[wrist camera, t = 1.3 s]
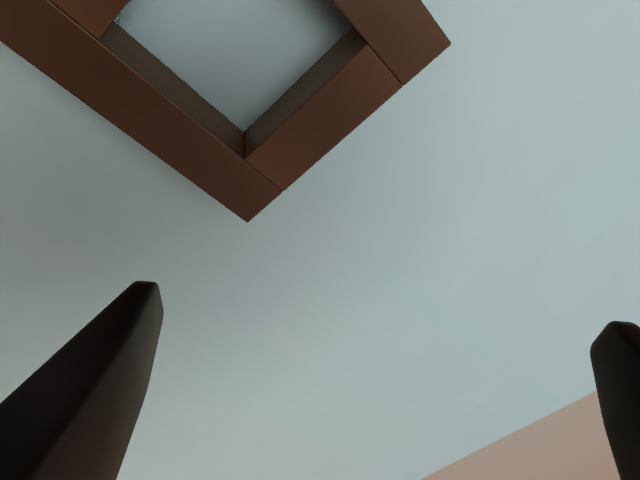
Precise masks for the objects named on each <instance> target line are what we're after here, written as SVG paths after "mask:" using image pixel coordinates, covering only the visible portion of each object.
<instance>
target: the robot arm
mask: <svg viewBox="0 0 640 480" xmlns="http://www.w3.org/2000/svg"><path fill="white" fill-rule="evenodd" d="M162 321H163V305H162V300H161V295H160V290H159V286H158V284H157V283H155V282H149V281H136V282H134V283H132V284H131V285H130V286H129V287H128V288H127V289H126V290H124V291H123V292H122V293H121V294H120V295H119V296H118V297H117V298H116V299H115V300H113V301H112V302H111V303H110V304H109V305H108V306H107V307H106V308H105V309H104V310H102V311H101V312H100V313H99V314H98V315H97V316H96V317H95V318H94V319H93V320H91V321H90V322H89V323H88V324H87V325H86V326H85V327H84V328H83V329H82V330H80V331H79V332H78V333H77V334H76V335H75V336H74V337H73V338H72V339H71V340H69V341H68V342H67V343H66V344H65V345H64V346H63V347H62V348H61V349H60V350H59V351H57V352H56V353H55V354H54V355H53V356H52V357H51V358H50V359H49V360H48V361H46V362H45V363H44V364H43V365H42V366H41V367H40V368H39V369H38V370H37V371H35V372H34V373H33V374H32V375H31V376H30V377H29V378H28V379H27V380H26V381H24V382H23V383H22V384H21V385H20V386H19V387H18V388H17V389H16V390H15V391H13V392H12V393H11V394H10V395H9V396H8V397H7V398H6V399H5V400H4V401H2V402H1V403H0V480H116V478H117V475H118V473H119V470H120V467H121V464H122V461H123V458H124V456H125V453H126V450H127V447H128V444H129V441H130V438H131V436H132V433H133V430H134V427H135V424H136V421H137V418H138V416H139V413H140V410H141V407H142V404H143V401H144V398H145V395H146V392H147V388H148V384H149V380H150V375H151V371H152V366H153V362H154V357H155V353H156V348H157V344H158V339H159V335H160V330H161V326H162ZM590 357H591V362H592V367H593V372H594V377H595V383H596V388H597V393H598V398H599V403H600V408H601V413H602V417H603V422H604V426H605V430H606V433H607V437H608V440H609V444H610V447H611V450H612V453H613V456H614V460H615V463H616V466H617V469H618V472H619V476H620V479H621V480H640V327H638V326H637V325H636V324H634V323H631V322H622V321H612V322H610V323H608V324H607V325H606V327H605V328H604V329H603V331H602V332H601V333H600V334H599V336H598V337H597V338H596V339H595V341H594V342H593V343H592V345H591V349H590Z"/></svg>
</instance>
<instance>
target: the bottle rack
mask: <svg viewBox="0 0 640 480" xmlns="http://www.w3.org/2000/svg"><path fill="white" fill-rule="evenodd" d="M129 1H130V0H0V41H1V42H2V43H4V44H5V45H6V46H8V47H9V48H10V49H12V50H13V51H15V52H16V53H17V54H19V55H20V56H21V57H23V58H24V59H25V60H27V61H28V62H29V63H31V64H32V65H34V66H35V67H36V68H38V69H39V70H40V71H42V72H43V73H44V74H46V75H47V76H49V77H50V78H51V79H53V80H54V81H55V82H57V83H58V84H59V85H61V86H62V87H63V88H65V89H66V90H68V91H69V92H70V93H72V94H73V95H74V96H76V97H77V98H78V99H80V100H81V101H83V102H84V103H85V104H87V105H88V106H89V107H91V108H92V109H93V110H95V111H96V112H97V113H99V114H100V115H102V116H103V117H104V118H106V119H107V120H108V121H110V122H111V123H112V124H114V125H115V126H117V127H118V128H119V129H121V130H122V131H123V132H125V133H126V134H127V135H129V136H130V137H131V138H133V139H134V140H136V141H137V142H138V143H140V144H141V145H142V146H144V147H145V148H146V149H148V150H149V151H151V152H152V153H153V154H155V155H156V156H157V157H159V158H160V159H161V160H163V161H164V162H165V163H167V164H168V165H170V166H171V167H172V168H174V169H175V170H176V171H178V172H179V173H180V174H182V175H183V176H185V177H186V178H187V179H189V180H190V181H191V182H193V183H194V184H195V185H197V186H198V187H199V188H201V189H202V190H204V191H205V192H206V193H208V194H209V195H210V196H212V197H213V198H214V199H216V200H217V201H219V202H220V203H221V204H223V205H224V206H225V207H227V208H228V209H229V210H231V211H232V212H233V213H235V214H236V215H238V216H239V217H240V218H242V219H243V220H244V221H246V222H249V221H250V220H251V219H252V218H254V217H255V216H256V215H257V214H258V213H259V212H260V211H261V210H263V209H264V208H265V207H266V206H267V205H268V204H269V203H271V202H272V201H273V200H274V199H275V198H276V197H277V196H279V195H280V194H281V193H282V191H284V190H285V189H287V188H288V187H289V186H290V185H291V184H292V183H293V182H295V181H296V180H297V179H298V178H299V177H300V176H301V175H303V174H304V173H305V172H306V171H307V170H308V169H309V168H311V167H312V166H313V165H314V164H315V163H316V162H317V161H319V160H320V159H321V158H322V157H323V156H324V155H325V154H327V153H328V152H329V151H330V150H331V149H332V148H333V147H335V146H336V145H337V144H338V143H339V142H340V141H341V140H342V139H344V138H345V137H346V136H347V135H348V134H349V133H350V132H352V131H353V130H354V129H355V128H356V127H357V126H358V125H360V124H361V123H362V122H363V121H364V120H365V119H366V118H368V117H369V116H370V115H371V114H372V113H373V112H374V111H376V110H377V109H378V108H379V107H380V106H381V105H382V104H384V103H385V102H386V101H387V100H388V99H389V98H390V97H392V96H393V95H394V94H395V93H396V92H397V91H398V90H399V89H401V88H402V85H405V84H406V83H408V82H409V81H410V80H411V79H412V78H413V77H414V76H416V75H417V74H418V73H419V72H420V71H421V70H422V69H424V68H425V67H426V66H427V65H428V64H429V63H430V62H431V61H433V60H434V59H435V58H436V57H437V56H438V55H439V54H441V53H442V52H443V51H444V50H445V49H446V48H447V47H449V46H450V45H451V42H450V41H449V39H448V38H447V37H446V35H445V34H444V32H443V31H442V30H441V28H440V27H439V25H438V24H437V23H436V21H435V20H434V18H433V17H432V16H431V14H430V13H429V11H428V10H427V9H426V7H425V6H424V4H423V3H422V2H421V0H332V1H333V3H334V4H335V5H336V6H337V7H338V9H339V10H340V11H341V12H342V13H343V15H344V16H345V17H346V18H347V19H348V21H349V22H350V23H351V24H352V25H353V27H352V28H351V29H350V30H349V31H348V32H347V33H346V34H345V35H344V36H343V37H342V38H341V39H340V40H339V41H338V42H337V43H336V44H335V45H334V46H333V47H332V48H331V49H330V50H329V51H328V52H327V53H326V54H325V55H324V56H323V57H322V58H321V59H320V60H319V61H318V62H317V63H316V64H314V65H313V66H312V67H311V68H310V69H309V70H308V71H307V72H306V73H305V74H304V75H303V76H302V77H301V78H300V79H299V80H298V81H297V82H296V83H295V84H294V85H293V86H292V87H291V88H290V89H289V90H288V91H287V92H286V93H285V94H284V95H283V96H282V97H281V98H280V99H279V100H278V101H277V102H276V103H274V104H273V105H272V106H271V107H270V108H269V109H268V110H267V111H266V112H265V113H264V114H263V115H262V116H261V117H260V118H259V119H258V120H257V121H256V122H255V123H254V124H253V125H252V126H251V127H250V128H249V129H248V130H247V131H246V132H245V134H244V133H243V132H242V131H241V130H240V129H238V128H237V127H236V126H235V125H234V124H233V123H232V122H230V121H229V120H228V119H227V118H226V117H225V116H223V115H222V114H221V113H220V112H219V111H218V110H216V109H215V108H214V107H213V106H212V105H211V104H209V103H208V102H207V101H206V100H205V99H204V98H202V97H201V96H200V95H199V94H198V93H197V92H195V91H194V90H193V89H192V88H191V87H190V86H188V85H187V84H186V83H185V82H184V81H183V80H181V79H180V78H179V77H178V76H177V75H176V74H174V73H173V72H172V71H171V70H170V69H169V68H167V67H166V66H165V65H164V64H163V63H162V62H160V61H159V60H158V59H157V58H156V57H155V56H154V55H152V54H151V53H150V52H149V51H148V50H147V49H145V48H144V47H143V46H142V45H141V44H140V43H138V42H137V41H136V40H135V39H134V38H133V37H131V36H130V35H129V34H128V33H127V32H126V31H124V30H123V29H122V28H121V27H120V26H119V25H117V24H116V23H115V22H114V20H115V18H116V17H117V16H118V15H119V13H120V12H121V11H122V10H123V8H124V7H125V6H126V4H127V3H128V2H129Z"/></svg>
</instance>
